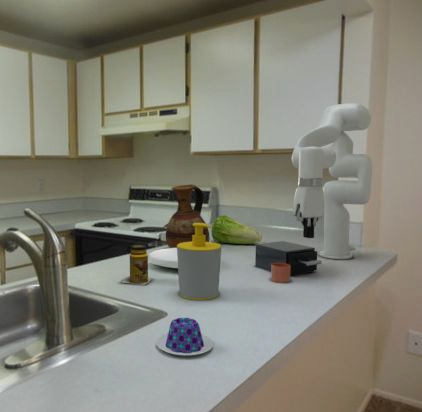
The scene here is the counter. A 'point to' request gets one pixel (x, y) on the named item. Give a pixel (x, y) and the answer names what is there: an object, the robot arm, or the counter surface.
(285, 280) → the cup
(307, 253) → the drawer
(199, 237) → the soap bottle
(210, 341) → the pudding
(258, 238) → the lettuce
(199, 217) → the ceramic pitcher
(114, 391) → the counter surface
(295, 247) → the dark gray drawer box
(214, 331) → the counter surface
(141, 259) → the condiment
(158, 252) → the plate
